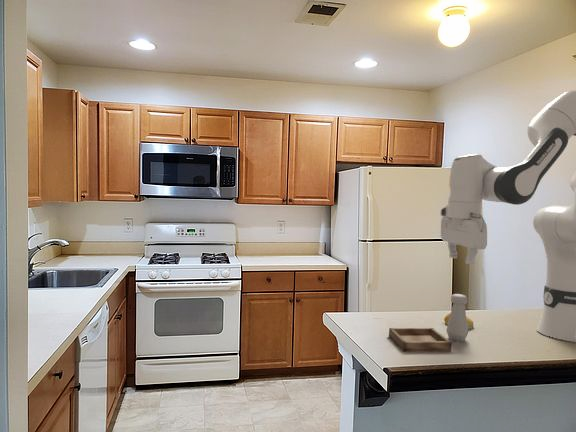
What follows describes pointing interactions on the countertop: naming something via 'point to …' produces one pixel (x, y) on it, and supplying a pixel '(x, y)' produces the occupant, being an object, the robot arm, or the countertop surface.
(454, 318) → the salt shaker
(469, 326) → the bread roll
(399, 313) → the countertop surface
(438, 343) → the tray
